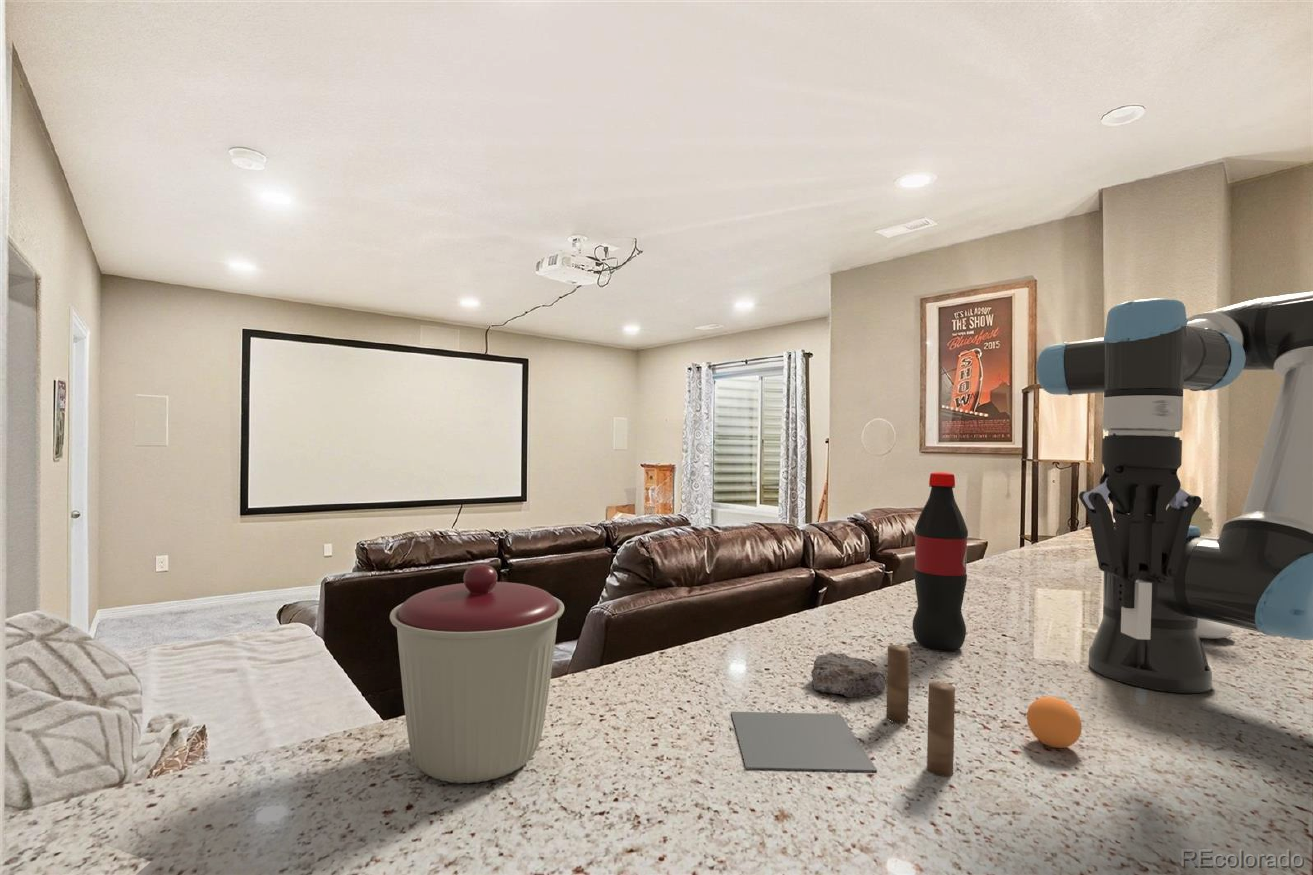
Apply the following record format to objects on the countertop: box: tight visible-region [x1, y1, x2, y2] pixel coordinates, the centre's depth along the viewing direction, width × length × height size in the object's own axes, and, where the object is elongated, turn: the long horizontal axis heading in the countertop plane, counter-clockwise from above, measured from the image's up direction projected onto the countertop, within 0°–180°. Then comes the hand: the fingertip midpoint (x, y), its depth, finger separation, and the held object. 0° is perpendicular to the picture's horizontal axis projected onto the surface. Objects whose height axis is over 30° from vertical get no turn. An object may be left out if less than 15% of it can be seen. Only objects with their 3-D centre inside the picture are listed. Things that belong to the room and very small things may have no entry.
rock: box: [811, 652, 887, 698], centre depth 94 cm, size 9×11×4 cm
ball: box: [1026, 696, 1083, 749], centre depth 77 cm, size 6×6×6 cm
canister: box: [389, 563, 565, 784], centre depth 71 cm, size 18×18×21 cm
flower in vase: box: [1166, 504, 1234, 640], centre depth 123 cm, size 13×11×25 cm
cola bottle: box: [912, 471, 969, 653], centre depth 113 cm, size 8×8×30 cm
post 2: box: [926, 681, 956, 777], centre depth 70 cm, size 3×3×9 cm
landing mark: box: [731, 711, 878, 772], centre depth 77 cm, size 14×14×1 cm
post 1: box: [885, 644, 911, 724], centre depth 83 cm, size 3×3×9 cm
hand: (1135, 635), depth 76 cm, fingers closed
